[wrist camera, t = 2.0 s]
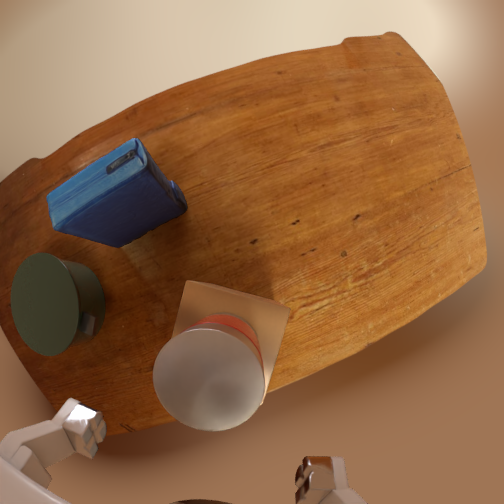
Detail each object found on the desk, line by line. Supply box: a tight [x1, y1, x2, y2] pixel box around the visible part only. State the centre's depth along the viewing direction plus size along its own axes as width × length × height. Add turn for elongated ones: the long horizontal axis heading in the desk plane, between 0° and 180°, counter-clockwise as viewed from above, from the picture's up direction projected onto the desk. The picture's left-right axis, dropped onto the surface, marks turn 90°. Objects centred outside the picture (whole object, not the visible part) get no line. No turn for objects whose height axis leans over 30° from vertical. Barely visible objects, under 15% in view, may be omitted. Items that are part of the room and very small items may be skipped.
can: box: [153, 312, 265, 431], centre depth 20 cm, size 6×6×11 cm
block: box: [171, 280, 291, 405], centre depth 34 cm, size 10×10×18 cm
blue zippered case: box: [47, 138, 187, 248], centre depth 35 cm, size 14×5×20 cm, turn 117°
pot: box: [11, 253, 105, 356], centre depth 39 cm, size 16×20×9 cm
